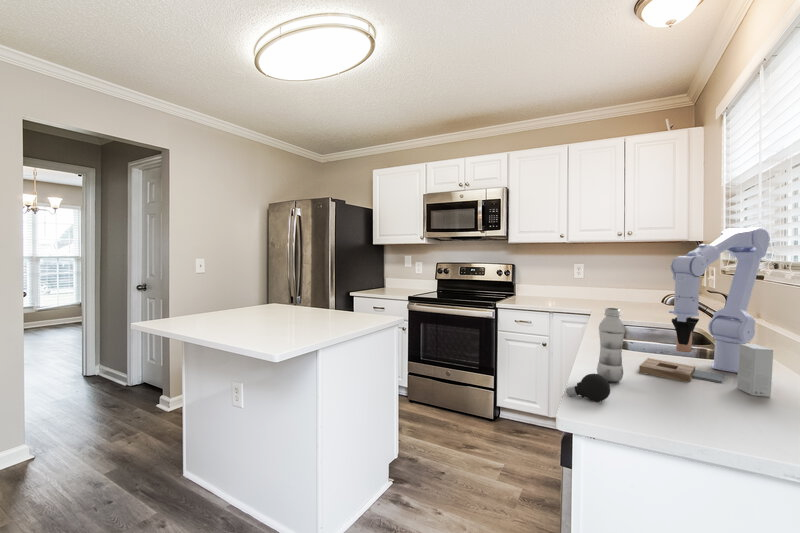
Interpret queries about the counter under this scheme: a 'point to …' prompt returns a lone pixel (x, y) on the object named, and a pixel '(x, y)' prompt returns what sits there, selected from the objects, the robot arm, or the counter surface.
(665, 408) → the counter surface
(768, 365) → the skincare box
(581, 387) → the light bulb
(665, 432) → the counter surface
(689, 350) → the peg
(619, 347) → the plastic bottle
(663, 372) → the walnut holder
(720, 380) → the rubber pad
